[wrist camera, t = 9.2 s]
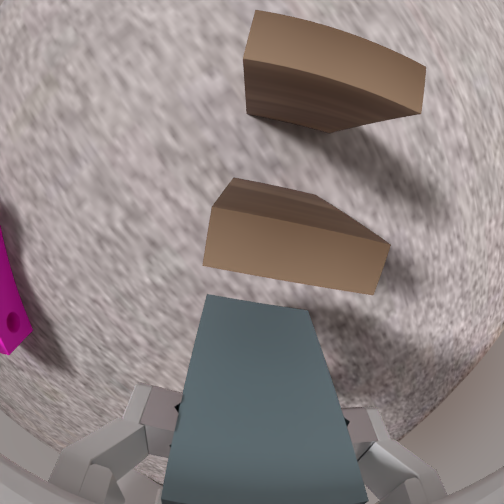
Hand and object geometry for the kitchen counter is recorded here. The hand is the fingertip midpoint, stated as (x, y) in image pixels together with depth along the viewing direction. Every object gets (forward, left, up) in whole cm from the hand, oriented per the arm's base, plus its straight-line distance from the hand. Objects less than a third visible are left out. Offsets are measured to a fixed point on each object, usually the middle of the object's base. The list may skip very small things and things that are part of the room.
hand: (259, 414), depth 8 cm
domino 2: (+5, 0, -11) cm, 12 cm away
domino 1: (+11, 0, -11) cm, 15 cm away
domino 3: (0, 0, -6) cm, 6 cm away
